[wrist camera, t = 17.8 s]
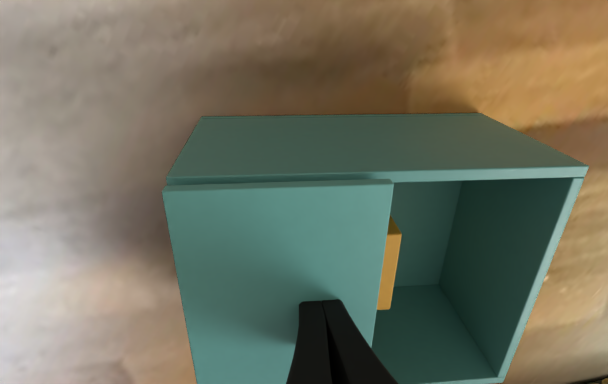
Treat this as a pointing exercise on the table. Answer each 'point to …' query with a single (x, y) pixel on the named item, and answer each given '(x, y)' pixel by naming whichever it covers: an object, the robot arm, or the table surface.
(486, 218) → the teal box
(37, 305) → the table surface
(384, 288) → the cube
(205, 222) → the flap
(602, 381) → the decorative block
